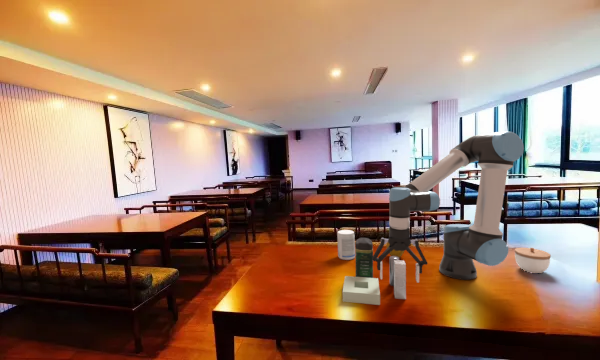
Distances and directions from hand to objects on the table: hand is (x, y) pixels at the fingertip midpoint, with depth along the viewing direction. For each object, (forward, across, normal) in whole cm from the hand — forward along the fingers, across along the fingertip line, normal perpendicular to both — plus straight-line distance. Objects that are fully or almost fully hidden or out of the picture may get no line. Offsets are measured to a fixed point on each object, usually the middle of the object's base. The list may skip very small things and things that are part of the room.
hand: (399, 279), depth 104 cm
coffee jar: (+7, +13, -14) cm, 21 cm away
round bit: (+7, +1, -10) cm, 12 cm away
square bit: (+7, 0, 0) cm, 7 cm away
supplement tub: (+7, +23, -39) cm, 46 cm away
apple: (+7, -3, -44) cm, 44 cm away
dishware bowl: (+6, -63, -35) cm, 72 cm away
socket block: (+7, +15, +1) cm, 16 cm away
